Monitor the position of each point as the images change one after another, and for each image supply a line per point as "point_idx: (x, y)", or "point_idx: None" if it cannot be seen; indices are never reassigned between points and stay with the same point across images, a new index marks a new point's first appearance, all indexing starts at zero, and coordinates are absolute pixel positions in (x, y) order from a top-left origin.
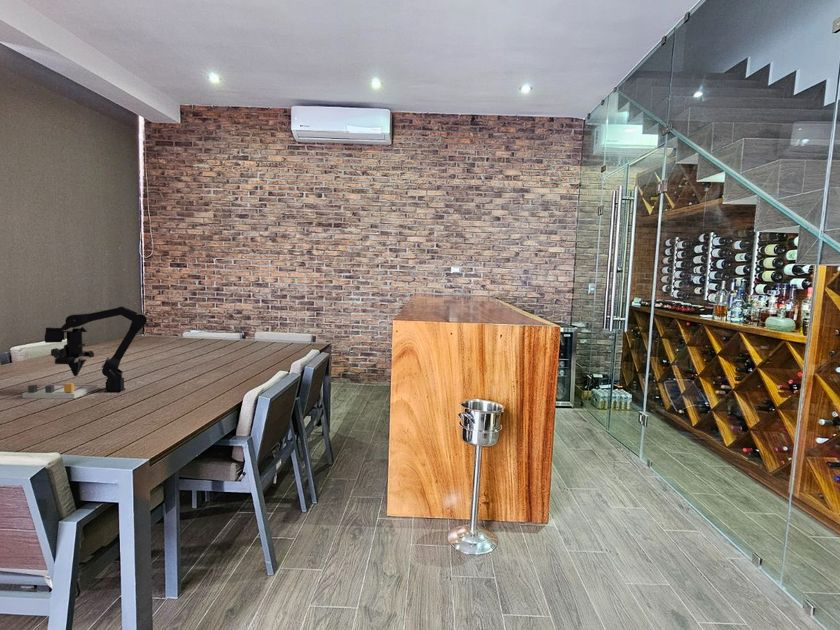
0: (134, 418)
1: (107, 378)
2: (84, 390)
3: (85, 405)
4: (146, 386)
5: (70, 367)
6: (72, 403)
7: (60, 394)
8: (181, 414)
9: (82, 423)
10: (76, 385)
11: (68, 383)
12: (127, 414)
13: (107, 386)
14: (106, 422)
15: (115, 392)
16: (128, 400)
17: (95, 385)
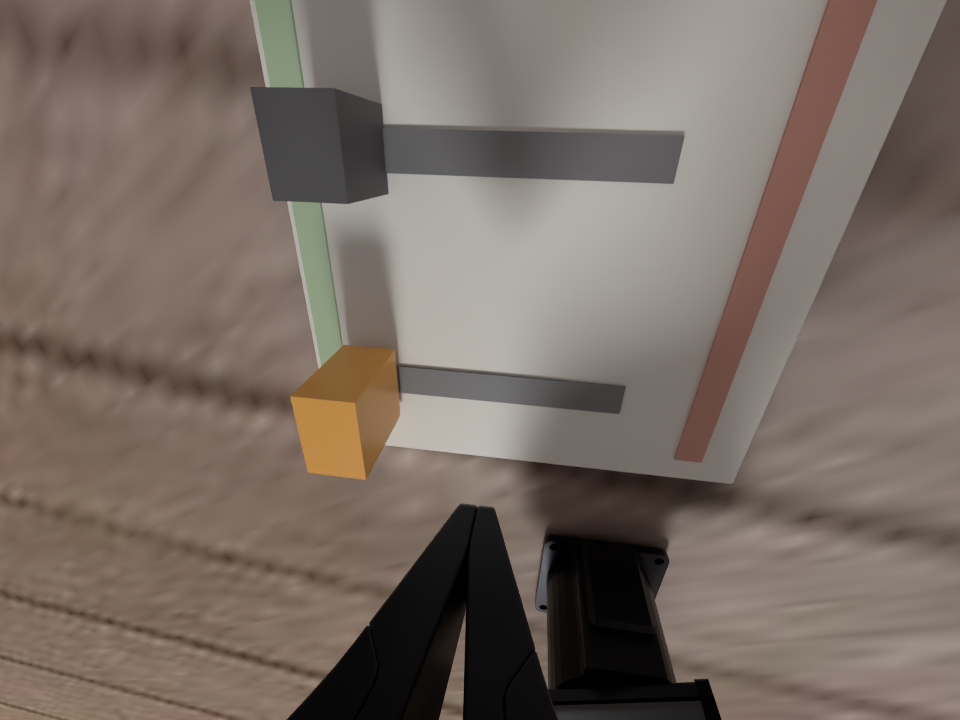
0: (149, 690)
1: (611, 670)
2: (493, 451)
3: (229, 524)
4: (719, 684)
5: (320, 694)
6: (242, 447)
7: (313, 319)
8: None
9: (18, 588)
10: (729, 297)
11: (337, 430)
12: (177, 673)
13: (575, 589)
14: (73, 641)
15: (537, 589)
16: None
17: (696, 477)
